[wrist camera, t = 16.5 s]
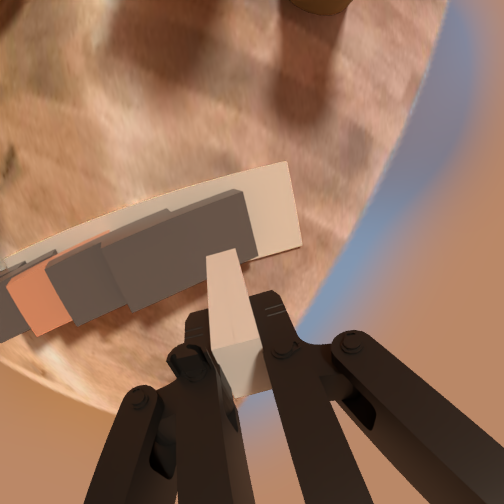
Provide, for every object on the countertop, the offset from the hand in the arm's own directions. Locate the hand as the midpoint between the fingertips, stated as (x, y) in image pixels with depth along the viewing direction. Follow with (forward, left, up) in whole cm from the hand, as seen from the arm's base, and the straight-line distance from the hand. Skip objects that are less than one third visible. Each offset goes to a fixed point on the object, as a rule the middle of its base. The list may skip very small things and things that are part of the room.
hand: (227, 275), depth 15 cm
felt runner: (-7, 0, -8) cm, 11 cm away
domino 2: (-8, 0, -7) cm, 11 cm away
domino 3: (-3, 0, -7) cm, 7 cm away
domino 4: (+2, 0, -7) cm, 7 cm away
